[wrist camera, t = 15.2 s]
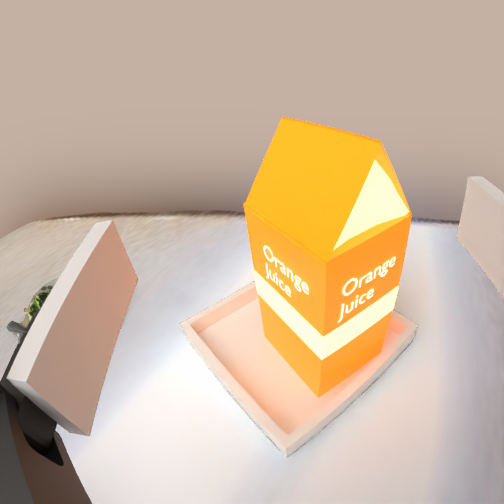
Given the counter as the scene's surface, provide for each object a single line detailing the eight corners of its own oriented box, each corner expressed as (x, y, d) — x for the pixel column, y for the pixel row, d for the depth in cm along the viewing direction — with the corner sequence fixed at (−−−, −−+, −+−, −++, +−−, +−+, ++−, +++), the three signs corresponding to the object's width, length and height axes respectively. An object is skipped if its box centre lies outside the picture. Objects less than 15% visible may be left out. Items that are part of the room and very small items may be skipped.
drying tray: (302, 268, 39) (301, 253, 37) (412, 340, 27) (418, 325, 26) (185, 338, 32) (179, 323, 30) (286, 457, 20) (285, 449, 19)
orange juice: (317, 399, 24) (324, 157, 12) (263, 336, 30) (228, 127, 19) (382, 351, 26) (422, 131, 15) (324, 301, 33) (322, 108, 21)
